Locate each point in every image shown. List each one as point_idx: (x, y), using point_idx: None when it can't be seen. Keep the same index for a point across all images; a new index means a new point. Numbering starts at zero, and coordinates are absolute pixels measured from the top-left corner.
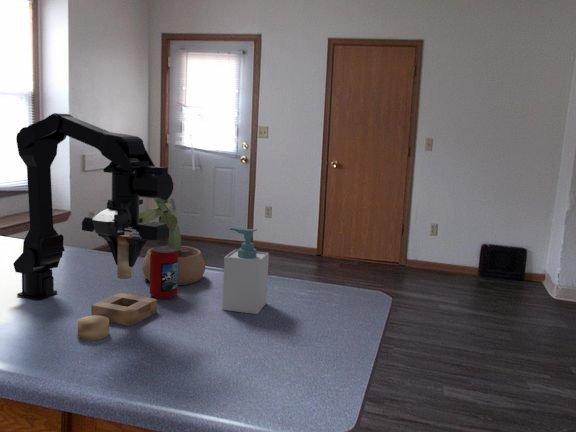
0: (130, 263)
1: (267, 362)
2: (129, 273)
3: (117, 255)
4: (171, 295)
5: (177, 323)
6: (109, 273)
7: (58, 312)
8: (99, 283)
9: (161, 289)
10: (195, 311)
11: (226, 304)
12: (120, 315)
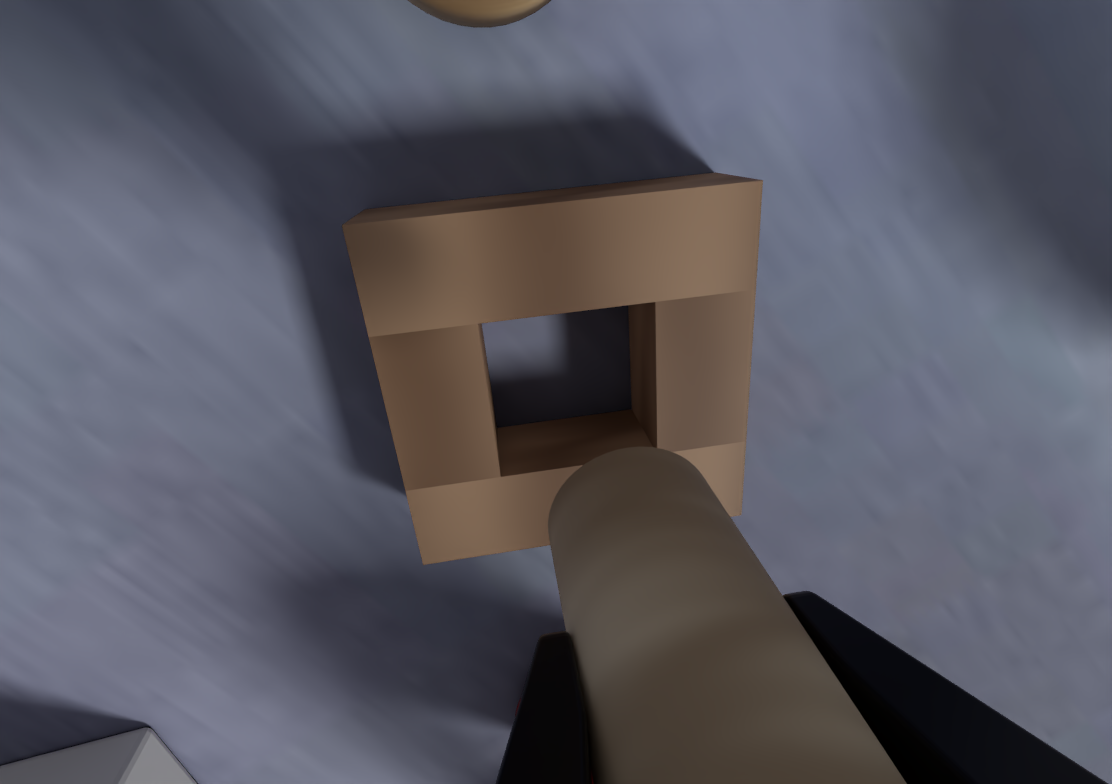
0: (542, 680)
1: None
2: (554, 558)
3: (888, 742)
4: (518, 703)
5: (156, 434)
6: None
7: (988, 134)
8: (996, 631)
9: None
10: (251, 633)
11: (101, 768)
12: (459, 208)
